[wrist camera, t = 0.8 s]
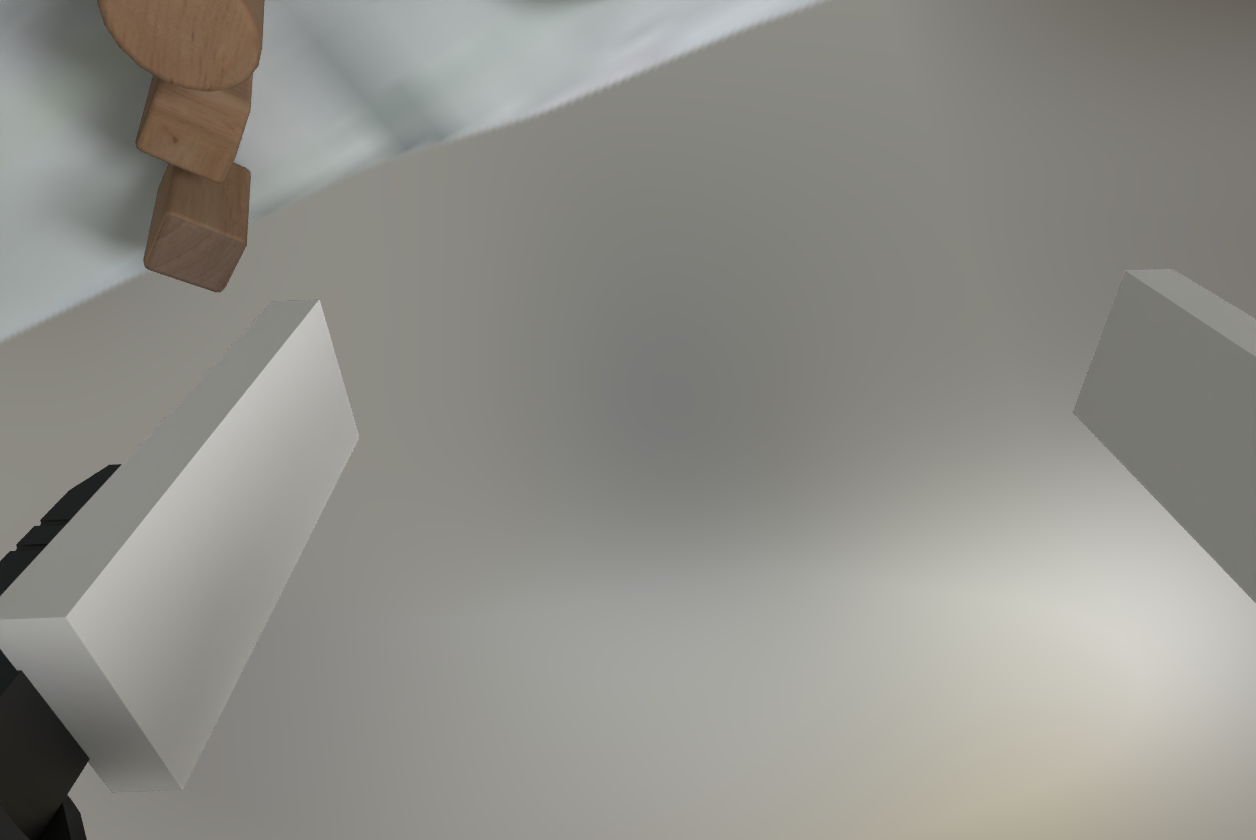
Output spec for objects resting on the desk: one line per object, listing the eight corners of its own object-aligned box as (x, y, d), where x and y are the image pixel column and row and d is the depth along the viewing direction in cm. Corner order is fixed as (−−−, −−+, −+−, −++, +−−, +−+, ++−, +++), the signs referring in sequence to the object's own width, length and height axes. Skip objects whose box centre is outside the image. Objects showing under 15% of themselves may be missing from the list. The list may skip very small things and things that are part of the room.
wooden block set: (267, 216, 38) (264, 348, 31) (62, 132, 32) (7, 271, 26) (443, -126, 29) (486, -43, 23) (208, -318, 24) (179, -278, 18)
